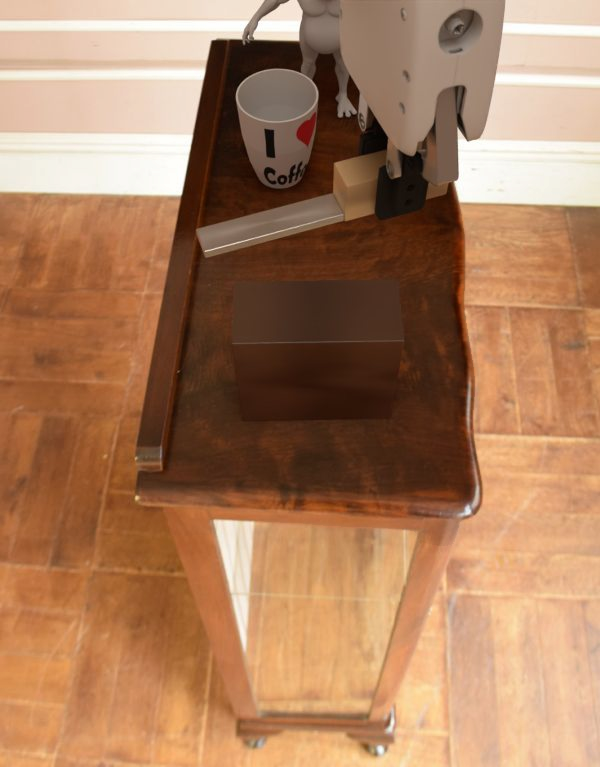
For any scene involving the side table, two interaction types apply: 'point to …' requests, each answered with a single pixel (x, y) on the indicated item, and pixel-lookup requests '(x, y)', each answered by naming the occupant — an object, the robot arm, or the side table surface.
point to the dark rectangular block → (317, 348)
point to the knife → (307, 208)
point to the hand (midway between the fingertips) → (390, 194)
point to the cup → (278, 124)
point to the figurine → (314, 40)
